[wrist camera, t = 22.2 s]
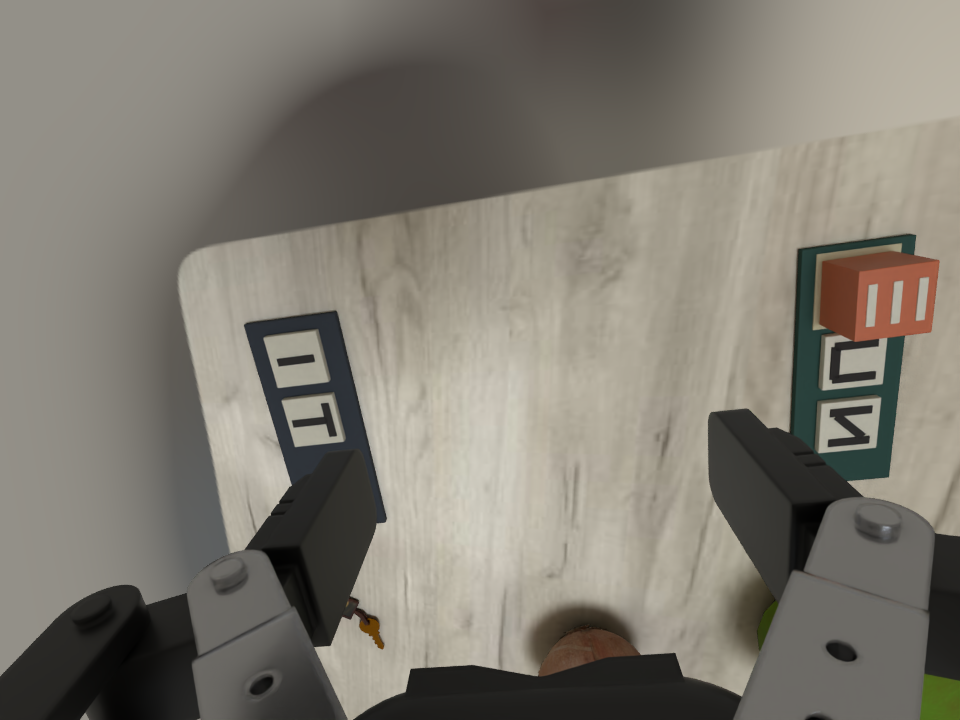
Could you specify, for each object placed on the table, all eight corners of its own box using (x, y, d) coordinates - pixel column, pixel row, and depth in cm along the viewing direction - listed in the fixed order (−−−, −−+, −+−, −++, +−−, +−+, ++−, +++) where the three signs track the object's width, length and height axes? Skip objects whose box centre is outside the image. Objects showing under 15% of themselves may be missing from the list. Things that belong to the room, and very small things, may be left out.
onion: (614, 639, 51) (665, 763, 43) (520, 663, 49) (556, 797, 42) (633, 591, 45) (696, 727, 37) (526, 617, 43) (570, 764, 36)
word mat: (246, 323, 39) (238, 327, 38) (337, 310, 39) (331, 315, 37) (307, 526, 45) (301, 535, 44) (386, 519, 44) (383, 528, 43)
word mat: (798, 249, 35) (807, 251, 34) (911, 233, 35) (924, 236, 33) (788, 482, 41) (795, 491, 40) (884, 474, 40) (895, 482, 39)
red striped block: (821, 261, 35) (860, 271, 31) (893, 250, 34) (941, 260, 31) (818, 325, 36) (855, 342, 32) (887, 315, 36) (932, 332, 32)
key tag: (309, 600, 48) (306, 605, 47) (327, 580, 47) (325, 585, 46) (382, 648, 49) (380, 654, 48) (401, 630, 48) (400, 635, 47)
